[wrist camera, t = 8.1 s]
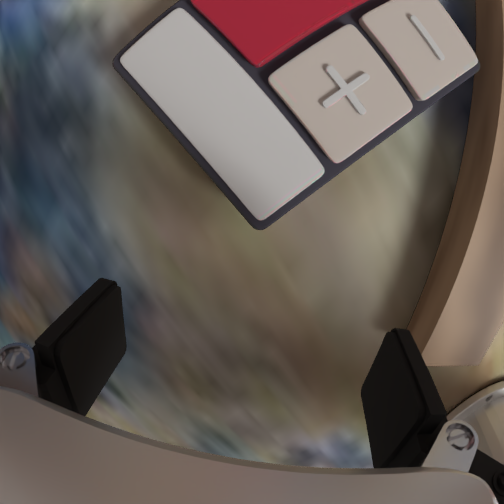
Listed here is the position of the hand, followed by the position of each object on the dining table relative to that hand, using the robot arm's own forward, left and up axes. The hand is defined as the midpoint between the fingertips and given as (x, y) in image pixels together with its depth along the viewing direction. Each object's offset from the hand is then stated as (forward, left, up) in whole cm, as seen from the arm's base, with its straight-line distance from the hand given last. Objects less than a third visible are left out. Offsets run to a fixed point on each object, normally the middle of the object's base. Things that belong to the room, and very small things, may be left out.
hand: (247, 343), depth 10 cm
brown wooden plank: (-14, -11, -9) cm, 20 cm away
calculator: (-1, -11, -9) cm, 14 cm away
